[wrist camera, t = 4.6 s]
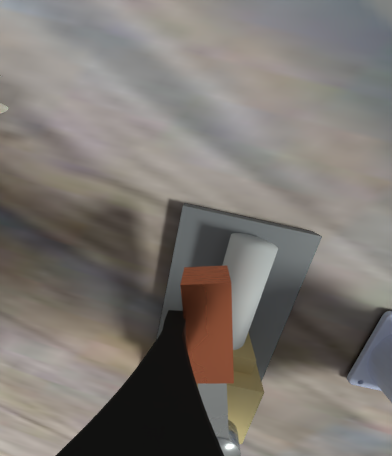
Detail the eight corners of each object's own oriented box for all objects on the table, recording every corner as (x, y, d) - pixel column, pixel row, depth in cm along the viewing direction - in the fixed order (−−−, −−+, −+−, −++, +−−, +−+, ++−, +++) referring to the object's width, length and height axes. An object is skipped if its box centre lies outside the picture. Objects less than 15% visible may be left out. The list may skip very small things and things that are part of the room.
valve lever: (237, 440, 12) (241, 476, 11) (195, 440, 12) (194, 475, 11) (233, 265, 9) (239, 282, 8) (177, 267, 9) (172, 285, 8)
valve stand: (313, 231, 15) (387, 271, 9) (231, 435, 21) (241, 538, 15) (184, 203, 15) (170, 223, 9) (141, 416, 21) (116, 513, 15)
